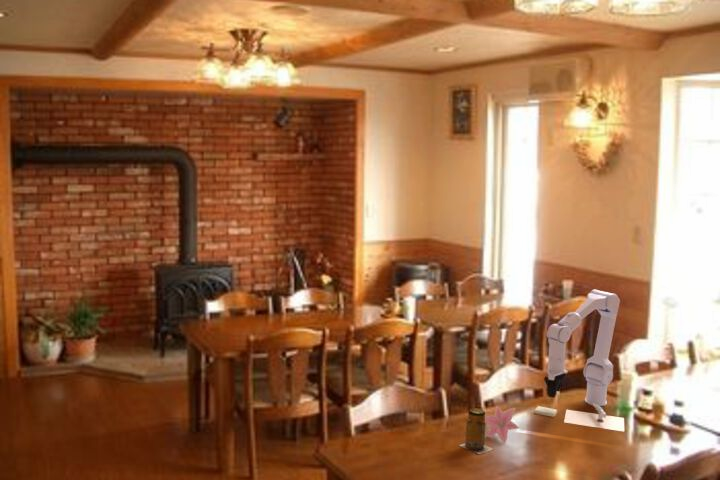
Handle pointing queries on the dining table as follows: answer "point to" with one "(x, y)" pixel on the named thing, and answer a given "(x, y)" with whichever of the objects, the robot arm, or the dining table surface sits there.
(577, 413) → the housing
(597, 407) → the t key
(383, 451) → the dining table surface
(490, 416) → the lily
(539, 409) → the cover
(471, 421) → the condiment
